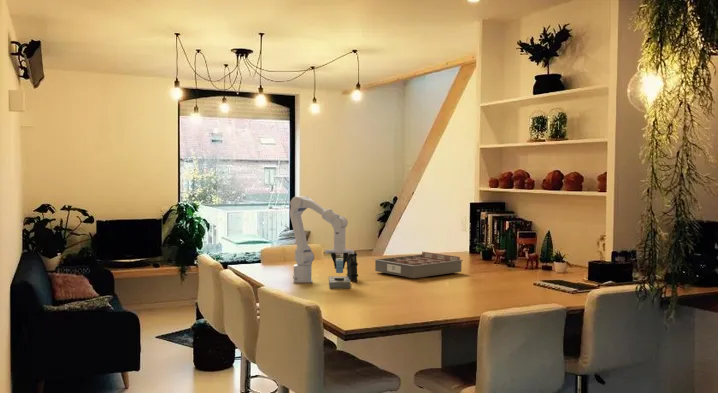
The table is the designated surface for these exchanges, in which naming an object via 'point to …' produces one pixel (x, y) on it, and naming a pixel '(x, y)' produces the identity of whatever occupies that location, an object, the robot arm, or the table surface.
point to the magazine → (352, 267)
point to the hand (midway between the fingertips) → (339, 268)
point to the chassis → (339, 282)
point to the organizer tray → (419, 265)
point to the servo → (339, 265)
